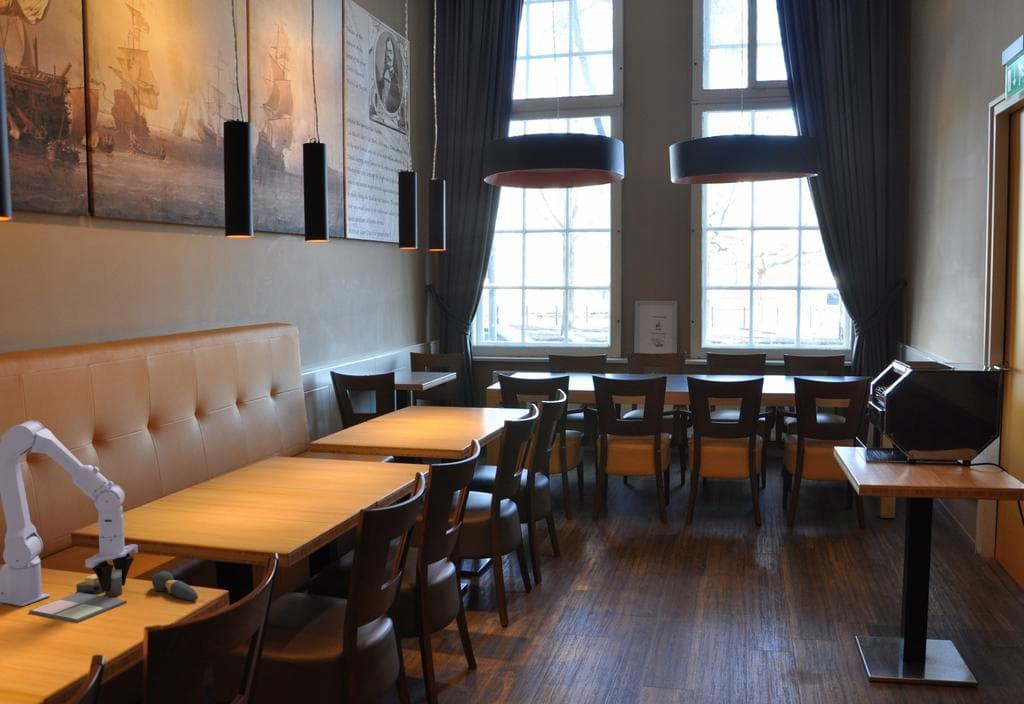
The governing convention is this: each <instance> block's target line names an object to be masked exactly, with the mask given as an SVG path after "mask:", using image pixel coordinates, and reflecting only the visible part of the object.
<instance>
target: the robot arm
mask: <svg viewBox="0 0 1024 704" xmlns="http://www.w3.org/2000/svg"><path fill="white" fill-rule="evenodd" d="M29 451H30V453H35V454H45V455H46V456H48V457H50V458H51V459H52V460H53V461H55V462H56V463H57V464H58V465H59V466H61V467H62V468H63V469H64V470H66V471H67V472H69V474H71V476H72V478H71V479H72V483H73V484H74V485H75V486H76V487H77V488H79V490H81V491H82V492H83V493H84V494H85V495H86V496H87V497H89V498H90V499H91V500H93V501H94V502H93V503H94V504H93V505H94V506H95V509H96V510H97V511H98V517H97V518H98V519H97V520H98V543H99V545H98V547H99V552H98V553H96V554H95V555H92V556H90V557H88V558H86V559H85V561H84V562H85V563H84V564H85V568H89V569H92V571H93V572H94V574H96V575H97V577H98V579H99V582H100V585H101V588H102V591H104V592H105V591H107V592H108V591H110V589H111V574H112V569H115V568H118V569H122V587H124V586H125V584H126V580H127V577H128V573H129V569H130V568H131V566H132V563H133V562H134V559H135V558H134V556H133V555H131V554H137V553H139V547H138V546H139V545H138V544H135V543H134V544H133V543H131V544H128V545H125V528H124V527H125V525H124V524H125V523H124V522H125V521H124V515H123V514H124V510H123V507H124V506H123V505H122V504H123V503H124V501H125V499H126V494H125V491H124V489H123V488H122V487H121V485H118V484H114V483H115V482H114V481H112V480H108V479H107V478H106V477H105V476H104V475H103V474H101V472H100V468H99V467H98V466H93V465H91V464H83V463H82V462H81V461H80V460H79V459H78V458H77V457H76V456H75V455H74V454H73V453H72V452H71V451H70V450H69V449H68V448H67V447H66V446H65V445H64V444H63V443H62V442H61V441H59V439H57V437H56V436H55V435H54V433H52V431H51V430H50V429H48V428H46V427H44V425H43V424H42V423H41V422H39V421H37V420H27V421H23V422H22V423H21V424H18V425H14V426H11V427H10V428H9V429H8V430H7V431H6V432H4V434H3V435H2V436H1V439H0V496H1V497H0V498H1V504H2V508H3V514H4V518H5V519H4V520H5V525H6V532H5V537H4V550H3V552H2V558H3V560H4V563H5V564H4V565H3V566H2V567H1V568H0V603H3V604H8V605H13V606H18V607H24V606H27V605H29V604H33V603H35V602H39V601H41V600H44V599H47V598H50V597H51V594H50V593H43V592H42V591H43V590H42V589H43V588H42V567H41V566H42V565H41V558H40V557H39V555H40V553H41V552H42V551H43V547H44V544H43V543H44V542H43V540H42V538H41V536H40V535H39V534H38V533H37V532H38V531H37V527H36V526H35V525H34V524H33V523H32V521H31V516H30V515H31V514H30V510H29V505H28V499H27V494H26V488H25V484H24V479H23V474H22V468H21V463H20V462H21V460H23V458H24V457H25V456H26V455H27V454H28V452H29ZM110 561H112V562H113V563H112V564H109V562H110Z"/></svg>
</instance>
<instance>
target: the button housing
mask: <svg viewBox="0 0 1024 704" xmlns="http://www.w3.org/2000/svg"><path fill="white" fill-rule="evenodd" d="M75 586H76V593H78V592H81V593H87V594H92V595H98V594H100V593H105V591H102V588H101V585H100V584H97V585H95V586H93V585H87V584H85V581H82V582H80V583H77V584H76V585H75Z"/></svg>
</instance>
